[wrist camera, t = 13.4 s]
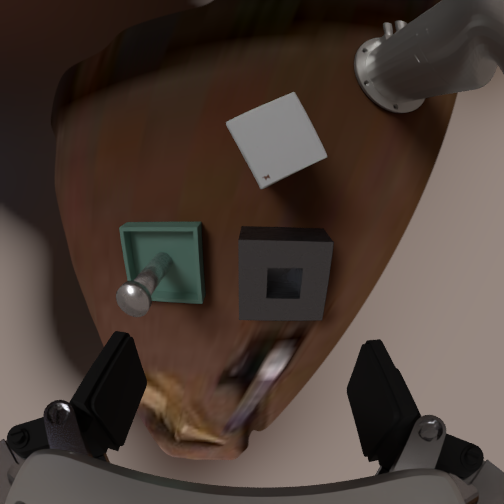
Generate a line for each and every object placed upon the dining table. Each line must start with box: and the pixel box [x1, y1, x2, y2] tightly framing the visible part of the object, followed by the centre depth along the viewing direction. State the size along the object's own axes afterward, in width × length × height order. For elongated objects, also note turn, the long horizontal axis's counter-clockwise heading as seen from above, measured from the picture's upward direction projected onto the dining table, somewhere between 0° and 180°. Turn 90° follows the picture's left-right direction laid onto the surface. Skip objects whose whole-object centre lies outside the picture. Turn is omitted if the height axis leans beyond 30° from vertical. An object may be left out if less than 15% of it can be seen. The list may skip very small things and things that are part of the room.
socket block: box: [239, 226, 334, 321], centre depth 39 cm, size 12×12×6 cm
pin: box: [116, 252, 172, 317], centre depth 35 cm, size 4×4×12 cm
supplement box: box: [226, 92, 327, 189], centre depth 29 cm, size 7×7×13 cm
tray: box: [119, 222, 205, 304], centre depth 40 cm, size 12×12×3 cm
